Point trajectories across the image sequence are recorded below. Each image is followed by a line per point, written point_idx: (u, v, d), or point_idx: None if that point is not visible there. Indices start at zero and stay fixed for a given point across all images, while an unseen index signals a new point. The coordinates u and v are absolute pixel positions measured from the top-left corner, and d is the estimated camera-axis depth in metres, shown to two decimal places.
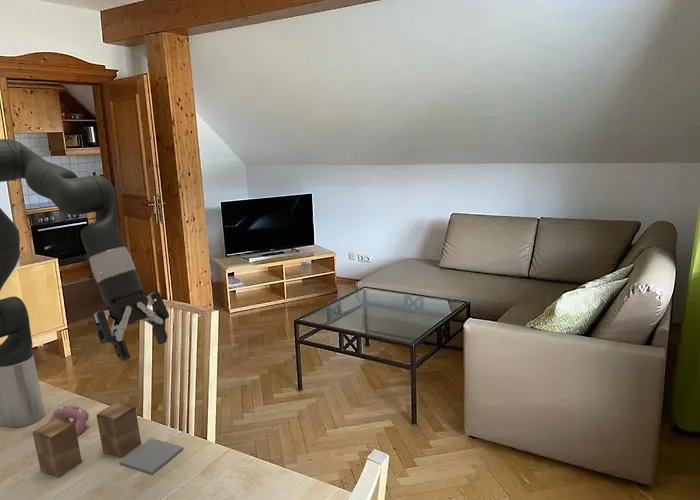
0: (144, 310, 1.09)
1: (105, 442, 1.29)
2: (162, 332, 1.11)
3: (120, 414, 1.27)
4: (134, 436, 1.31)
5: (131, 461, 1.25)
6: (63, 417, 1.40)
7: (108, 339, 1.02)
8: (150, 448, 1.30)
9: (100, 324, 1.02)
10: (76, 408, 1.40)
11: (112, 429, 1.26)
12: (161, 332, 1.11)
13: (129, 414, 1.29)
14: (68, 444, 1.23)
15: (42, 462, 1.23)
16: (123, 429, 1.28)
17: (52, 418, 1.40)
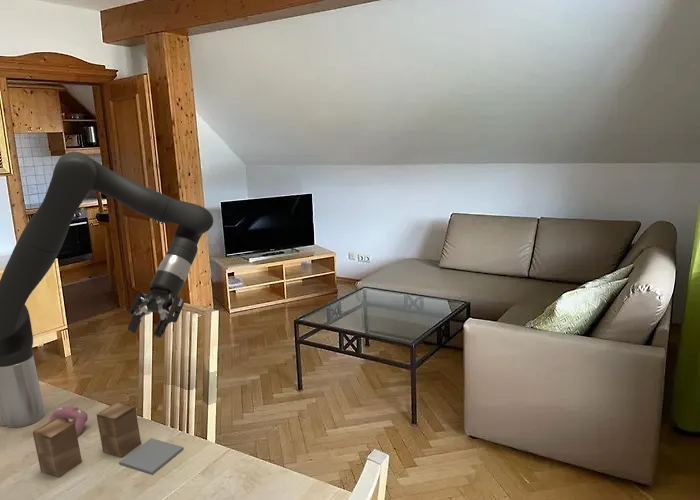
0: None
1: (105, 442, 1.29)
2: None
3: (120, 414, 1.27)
4: (134, 436, 1.31)
5: (131, 461, 1.25)
6: (62, 418, 1.40)
7: None
8: (150, 448, 1.30)
9: (180, 308, 1.36)
10: (75, 409, 1.40)
11: (112, 429, 1.26)
12: None
13: (129, 414, 1.29)
14: (68, 444, 1.23)
15: (42, 462, 1.23)
16: (123, 429, 1.28)
17: (51, 419, 1.39)
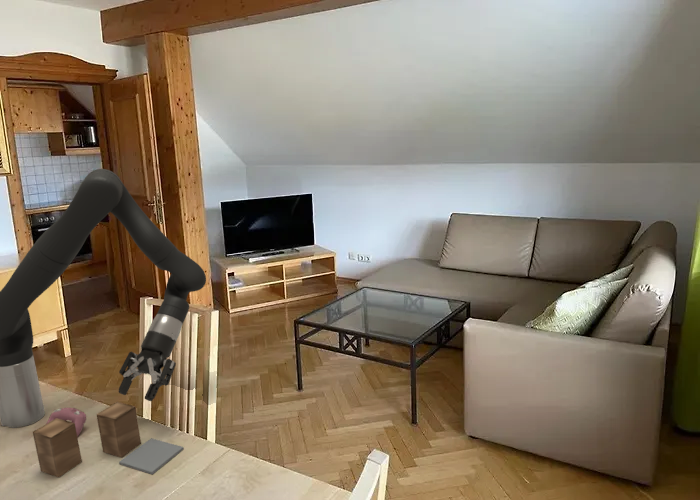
0: None
1: (105, 442, 1.29)
2: None
3: (120, 414, 1.27)
4: (134, 436, 1.31)
5: (131, 461, 1.25)
6: None
7: None
8: (150, 448, 1.30)
9: (172, 371, 1.35)
10: (74, 410, 1.39)
11: (112, 429, 1.26)
12: None
13: (129, 414, 1.29)
14: (68, 444, 1.23)
15: (42, 462, 1.23)
16: (123, 429, 1.28)
17: (49, 420, 1.39)
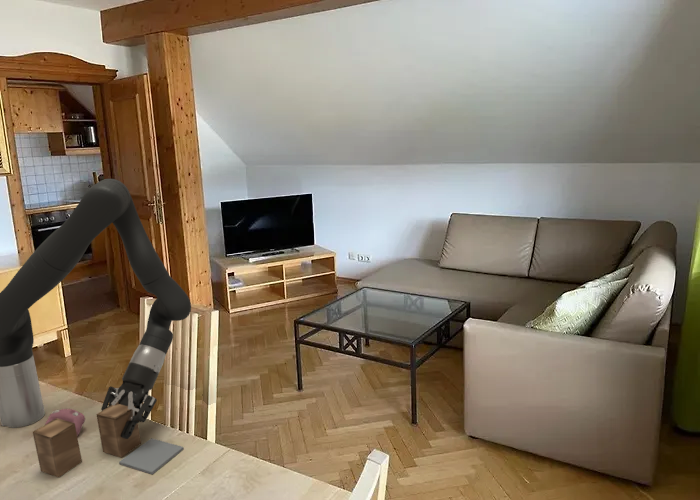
0: None
1: (105, 442, 1.29)
2: None
3: (120, 414, 1.27)
4: (134, 436, 1.31)
5: (131, 461, 1.25)
6: None
7: None
8: (150, 448, 1.30)
9: (151, 408, 1.30)
10: (72, 411, 1.39)
11: (112, 429, 1.26)
12: None
13: (129, 414, 1.29)
14: (68, 444, 1.23)
15: (42, 462, 1.23)
16: None
17: (48, 421, 1.38)
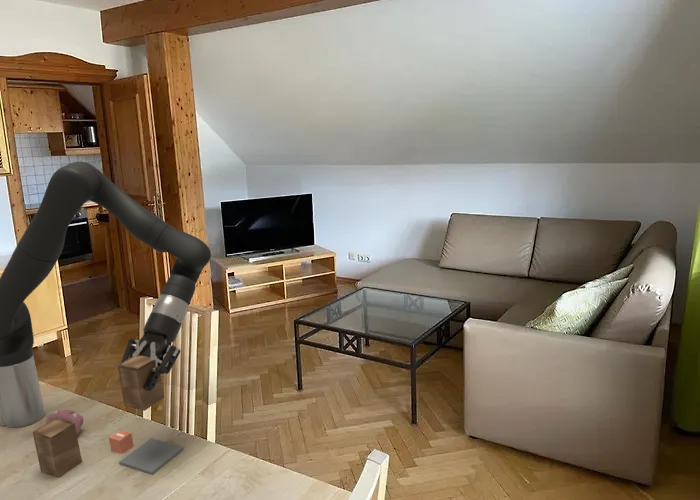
0: None
1: (127, 394, 1.22)
2: None
3: (143, 364, 1.20)
4: (157, 389, 1.24)
5: (131, 461, 1.25)
6: None
7: None
8: (150, 448, 1.30)
9: (175, 359, 1.23)
10: (71, 412, 1.38)
11: (135, 380, 1.19)
12: None
13: None
14: (68, 444, 1.23)
15: (42, 462, 1.23)
16: None
17: (46, 423, 1.38)
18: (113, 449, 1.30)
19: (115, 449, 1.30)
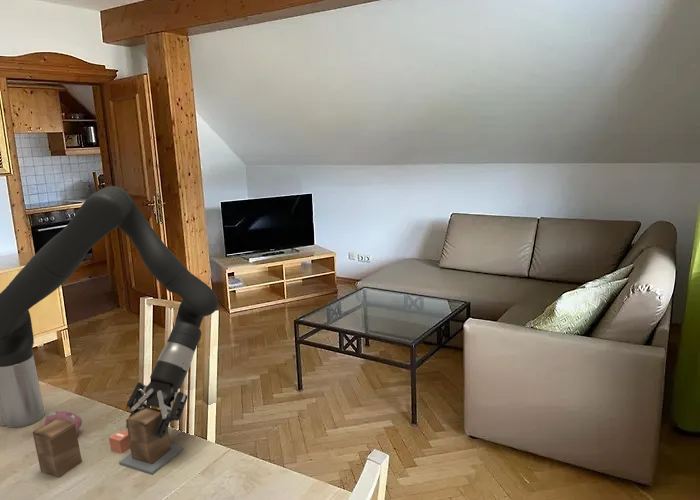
0: None
1: (134, 448, 1.25)
2: None
3: (150, 419, 1.23)
4: (164, 442, 1.27)
5: (131, 461, 1.25)
6: None
7: None
8: None
9: (183, 404, 1.26)
10: (69, 414, 1.38)
11: (143, 435, 1.22)
12: None
13: (159, 419, 1.25)
14: (68, 444, 1.23)
15: (42, 462, 1.23)
16: None
17: (44, 424, 1.37)
18: (113, 449, 1.30)
19: (115, 449, 1.30)
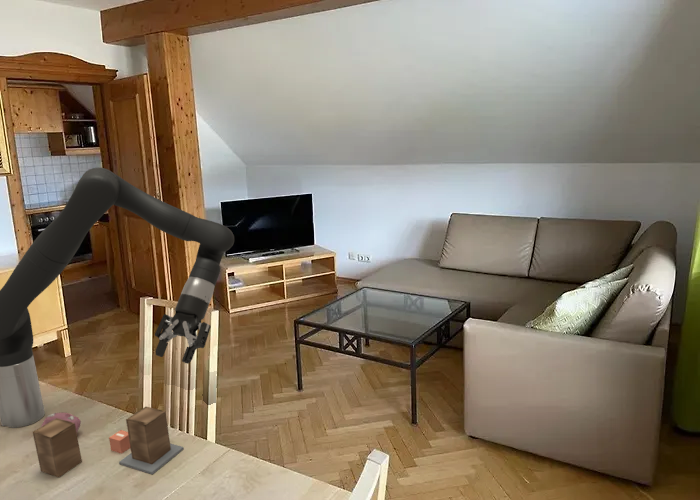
0: None
1: (134, 448, 1.25)
2: None
3: (150, 419, 1.23)
4: (164, 442, 1.27)
5: (131, 461, 1.25)
6: None
7: None
8: None
9: (207, 333, 1.36)
10: (68, 415, 1.37)
11: (143, 435, 1.22)
12: None
13: (159, 419, 1.25)
14: (68, 444, 1.23)
15: (42, 462, 1.23)
16: (154, 434, 1.24)
17: (43, 425, 1.37)
18: (113, 449, 1.30)
19: (115, 449, 1.30)
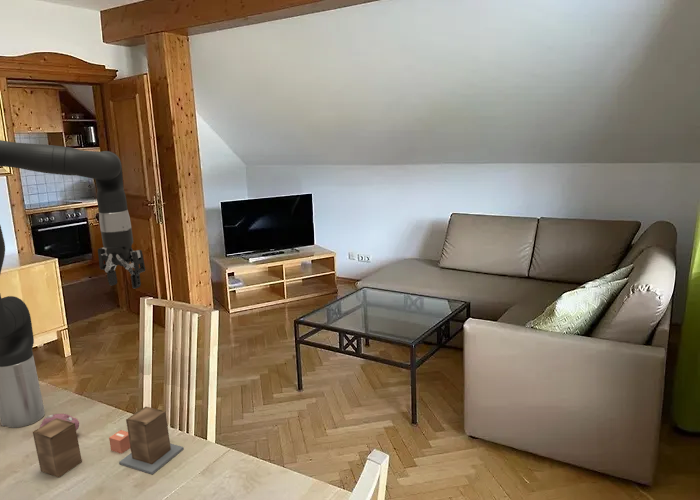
0: None
1: (134, 448, 1.25)
2: None
3: (150, 419, 1.23)
4: (164, 442, 1.27)
5: (131, 461, 1.25)
6: None
7: None
8: None
9: (142, 258, 1.45)
10: (66, 416, 1.37)
11: (143, 435, 1.22)
12: None
13: (159, 419, 1.25)
14: (68, 444, 1.23)
15: (42, 462, 1.23)
16: (154, 434, 1.24)
17: None
18: (113, 449, 1.30)
19: (115, 449, 1.30)
